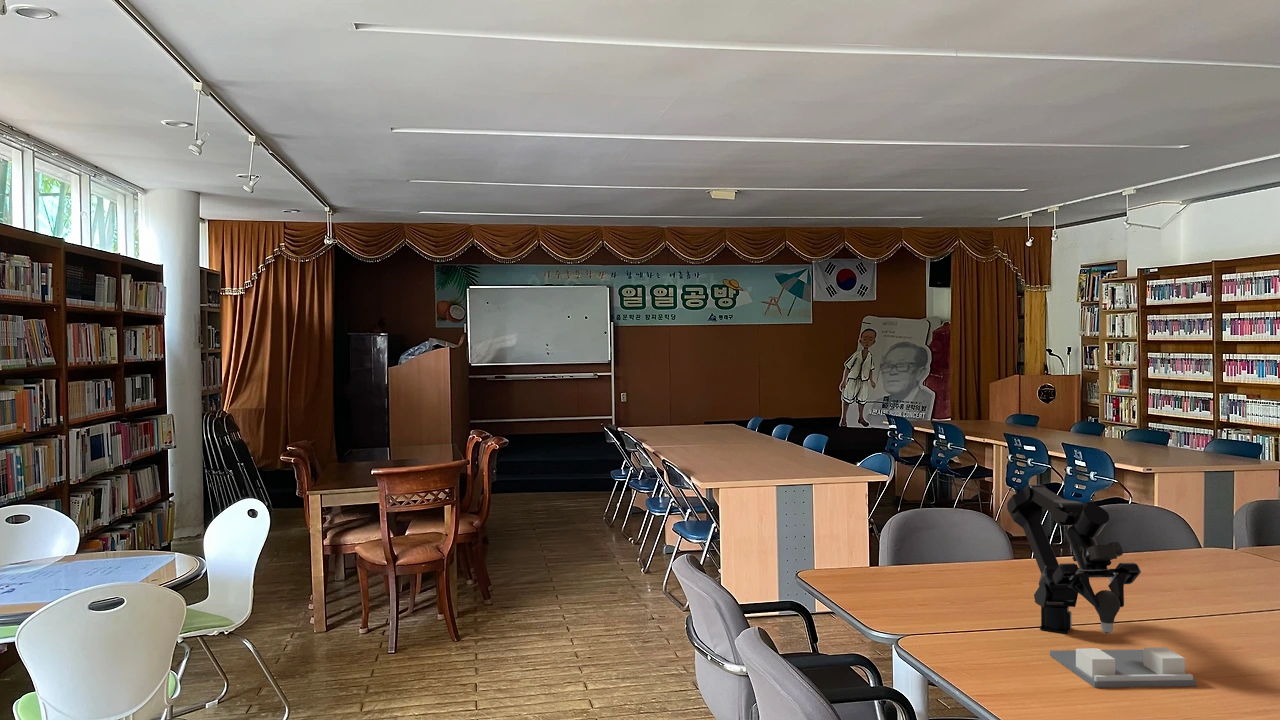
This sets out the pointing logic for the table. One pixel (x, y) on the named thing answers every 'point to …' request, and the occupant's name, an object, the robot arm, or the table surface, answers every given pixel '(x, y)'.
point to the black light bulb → (1107, 609)
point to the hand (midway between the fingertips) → (1109, 606)
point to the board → (1126, 667)
